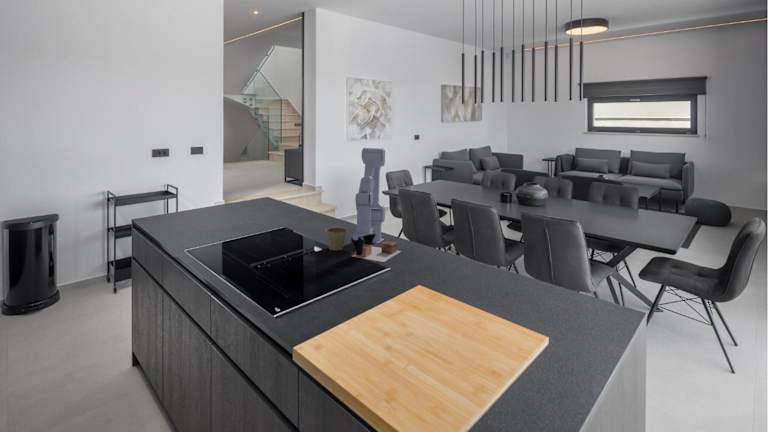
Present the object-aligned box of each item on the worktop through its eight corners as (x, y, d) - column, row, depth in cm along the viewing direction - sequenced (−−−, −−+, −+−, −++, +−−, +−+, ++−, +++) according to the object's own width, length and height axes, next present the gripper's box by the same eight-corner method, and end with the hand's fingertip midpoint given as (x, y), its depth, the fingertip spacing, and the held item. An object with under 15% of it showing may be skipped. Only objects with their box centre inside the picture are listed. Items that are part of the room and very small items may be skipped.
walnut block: (381, 252, 184) (381, 243, 183) (386, 249, 188) (386, 240, 187) (392, 254, 182) (392, 245, 181) (396, 251, 186) (397, 242, 185)
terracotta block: (355, 255, 179) (355, 246, 178) (361, 252, 183) (361, 243, 182) (365, 257, 176) (365, 248, 176) (371, 254, 181) (371, 245, 180)
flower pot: (348, 246, 193) (348, 228, 191) (344, 252, 183) (344, 233, 182) (328, 245, 193) (328, 226, 192) (323, 251, 184) (323, 232, 182)
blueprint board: (351, 257, 178) (351, 256, 178) (370, 247, 193) (370, 246, 193) (383, 263, 171) (383, 262, 171) (401, 252, 186) (401, 251, 186)
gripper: (363, 225, 168) (363, 258, 171) (380, 218, 181) (379, 249, 184) (348, 223, 171) (348, 256, 174) (365, 216, 184) (365, 247, 187)
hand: (363, 252), depth 179 cm, fingers open, 7 cm apart
